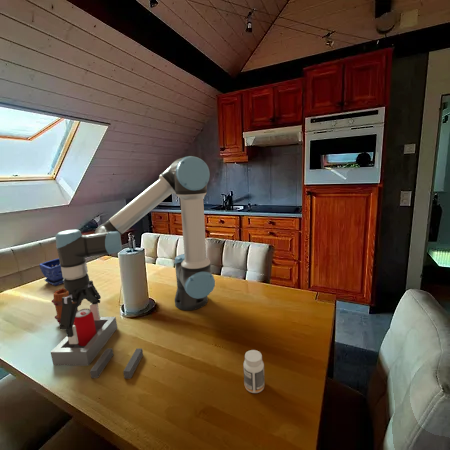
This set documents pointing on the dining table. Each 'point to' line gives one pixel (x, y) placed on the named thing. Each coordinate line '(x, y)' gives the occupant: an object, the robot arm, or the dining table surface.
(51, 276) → the flower pot
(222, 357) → the dining table surface
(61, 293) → the mug
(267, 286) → the dining table surface
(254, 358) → the pill bottle
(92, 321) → the beverage can
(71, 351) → the tray
